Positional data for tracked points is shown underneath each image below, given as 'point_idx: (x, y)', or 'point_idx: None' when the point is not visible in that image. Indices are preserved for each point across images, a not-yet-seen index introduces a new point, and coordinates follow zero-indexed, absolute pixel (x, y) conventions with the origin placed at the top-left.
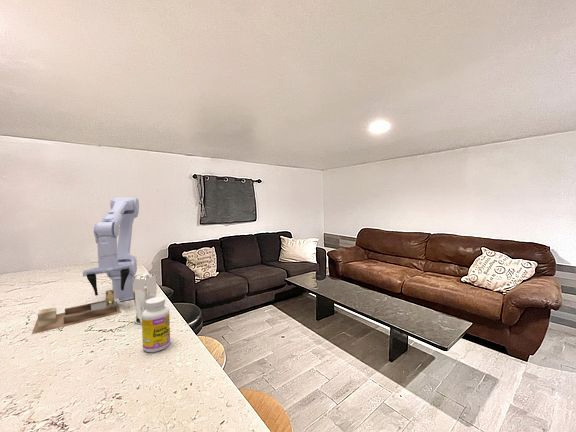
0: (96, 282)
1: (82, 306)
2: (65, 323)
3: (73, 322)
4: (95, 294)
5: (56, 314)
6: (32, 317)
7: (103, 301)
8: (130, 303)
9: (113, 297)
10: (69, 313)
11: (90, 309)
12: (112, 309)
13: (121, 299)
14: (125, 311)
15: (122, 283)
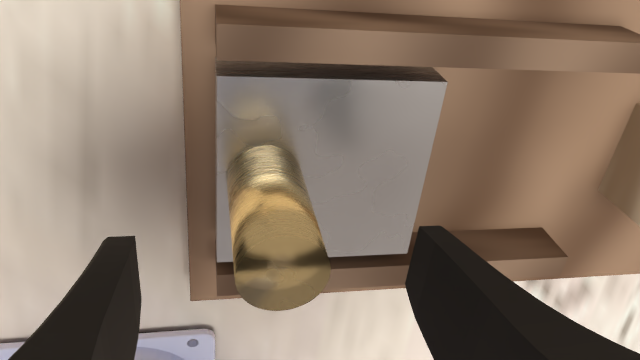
0: (534, 343)
1: None
2: (613, 26)
3: (568, 6)
4: (448, 232)
5: (622, 207)
6: None
7: None
8: (77, 253)
9: (238, 197)
10: (522, 231)
11: None
12: (262, 16)
13: (147, 351)
14: (129, 66)
15: (98, 306)
